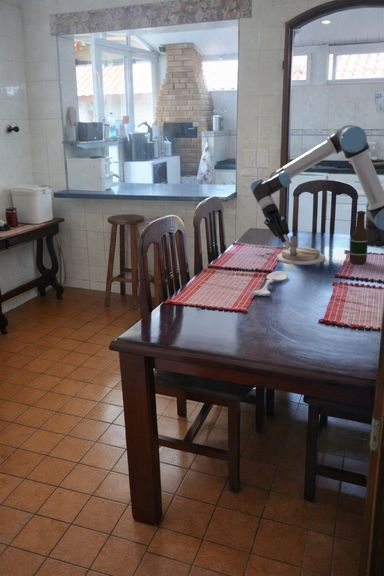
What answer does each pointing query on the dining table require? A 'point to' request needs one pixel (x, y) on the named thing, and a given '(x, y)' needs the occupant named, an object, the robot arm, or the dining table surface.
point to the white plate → (301, 261)
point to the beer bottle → (359, 241)
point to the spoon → (271, 277)
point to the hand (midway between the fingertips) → (289, 247)
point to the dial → (299, 252)
